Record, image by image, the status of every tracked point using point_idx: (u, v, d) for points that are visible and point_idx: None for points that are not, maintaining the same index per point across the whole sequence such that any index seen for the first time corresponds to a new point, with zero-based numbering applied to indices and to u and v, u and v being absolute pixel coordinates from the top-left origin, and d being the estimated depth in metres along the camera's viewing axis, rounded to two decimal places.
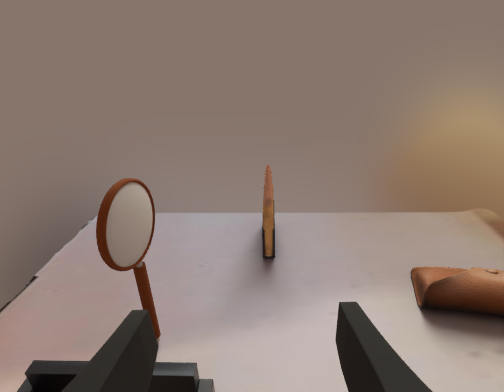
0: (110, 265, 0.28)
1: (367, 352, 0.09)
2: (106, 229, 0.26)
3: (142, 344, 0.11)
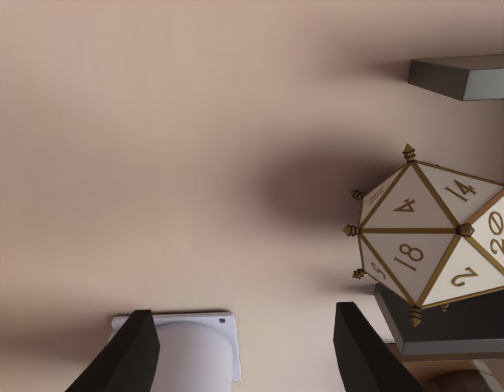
0: None
1: (364, 352, 0.09)
2: None
3: (145, 344, 0.11)
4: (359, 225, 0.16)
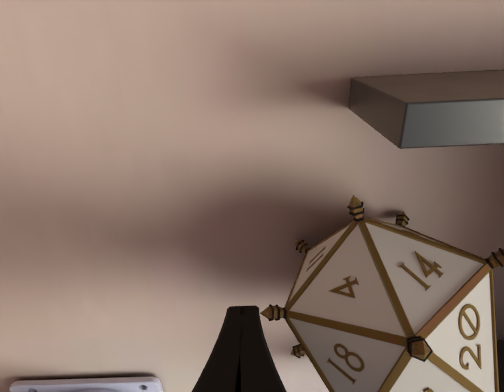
0: None
1: (241, 356, 0.09)
2: None
3: None
4: (286, 304, 0.12)
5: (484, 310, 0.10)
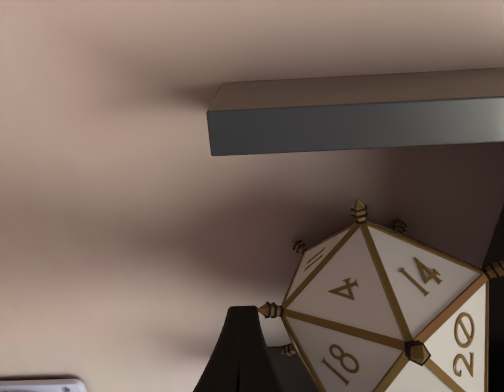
0: None
1: (240, 356, 0.09)
2: None
3: None
4: (283, 303, 0.12)
5: (479, 319, 0.10)
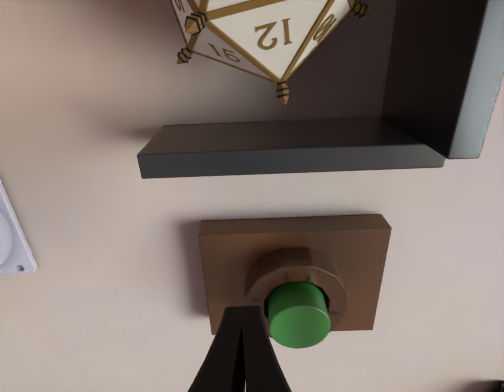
0: None
1: (246, 356, 0.09)
2: None
3: (243, 340, 0.11)
4: None
5: None
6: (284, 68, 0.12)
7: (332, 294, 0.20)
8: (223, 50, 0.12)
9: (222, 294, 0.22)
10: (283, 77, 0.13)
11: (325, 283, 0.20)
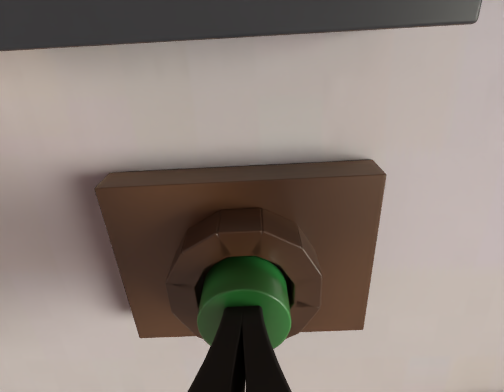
0: None
1: (246, 356, 0.09)
2: None
3: (243, 340, 0.11)
4: None
5: None
6: None
7: (297, 276, 0.13)
8: None
9: (145, 280, 0.16)
10: None
11: (285, 259, 0.13)
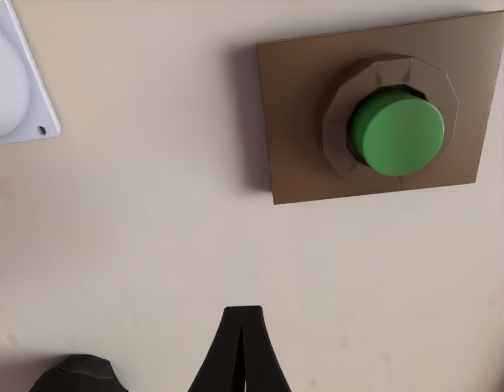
0: None
1: (246, 356, 0.09)
2: None
3: (242, 340, 0.11)
4: None
5: None
6: None
7: (437, 104, 0.15)
8: None
9: (287, 140, 0.18)
10: None
11: (429, 85, 0.15)
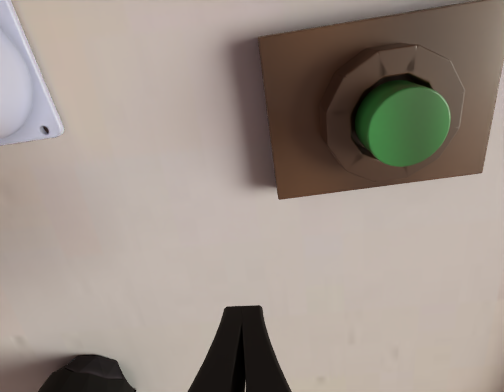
0: None
1: (246, 356, 0.09)
2: None
3: (243, 340, 0.11)
4: None
5: None
6: None
7: (443, 92, 0.15)
8: None
9: (290, 133, 0.18)
10: None
11: (434, 74, 0.15)
